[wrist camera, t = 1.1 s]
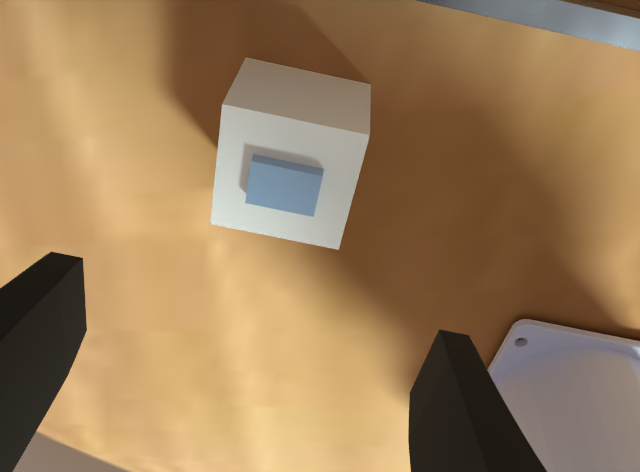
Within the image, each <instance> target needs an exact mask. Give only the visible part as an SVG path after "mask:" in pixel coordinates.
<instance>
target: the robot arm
mask: <svg viewBox="0 0 640 472" xmlns="http://www.w3.org/2000/svg"><path fill="white" fill-rule="evenodd" d="M86 331H87V327H86V308H85V290H84V272H83V258H80V257H75V256H70V255H65V254H60V253H55V252H50V253H49V254H47V255H46V256H44V257H43V258H41V259H40V260H39V261H37V262H36V263H34V264H33V265H32V266H30V267H29V268H28V269H26V270H25V271H24V272H22V273H21V274H19V275H18V276H17V277H15V278H14V279H13V280H11V281H10V282H8V283H7V284H6V285H4V286H3V287H2V288H0V472H12V471H13V470H14V468H15V466H16V465H17V463H18V461H19V459H20V458H21V456H22V454H23V453H24V451H25V449H26V447H27V446H28V444H29V442H30V441H31V439H32V437H33V435H34V433H35V432H36V430H37V428H38V427H39V425H40V423H41V422H42V420H43V418H44V416H45V415H46V413H47V411H48V409H49V408H50V406H51V404H52V402H53V401H54V399H55V397H56V395H57V394H58V392H59V390H60V388H61V387H62V385H63V383H64V381H65V379H66V378H67V376H68V374H69V371H70V369H71V367H72V364H73V362H74V360H75V358H76V355H77V353H78V350H79V348H80V345H81V343H82V340H83V338H84V336H85V333H86ZM519 338H523V339H521V340H516V339H519ZM409 453H410V464H411V472H640V341H636V340H631V339H626V338H621V337H616V336H611V335H606V334H601V333H596V332H591V331H586V330H581V329H576V328H571V327H566V326H561V325H556V324H551V323H546V322H541V321H536V320H531V319H522V320H519V321H517V322H515V323H514V324H513V325H512V327H511V329H510V331H509V332H508V334H507V336H506V338H505V339H504V341H503V343H502V345H501V347H500V348H499V350H498V352H497V354H496V356H495V357H494V359H493V361H492V363H491V364H490V366H489V368H488V370H487V369H486V367H485V365H484V363H483V361H482V359H481V357H480V355H479V353H478V352H477V350H476V348H475V346H474V344H473V342H472V340H471V339H470V337H469V335H464V334H459V333H454V332H449V331H444V330H439V332H438V334H437V336H436V338H435V340H434V342H433V344H432V347H431V349H430V351H429V353H428V355H427V357H426V359H425V362H424V364H423V366H422V368H421V370H420V372H419V374H418V377H417V379H416V381H415V383H414V385H413V387H412V389H411V392H410V405H409Z"/></svg>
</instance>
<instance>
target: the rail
mask: <svg viewBox="0 0 640 472" xmlns="http://www.w3.org/2000/svg"><path fill="white" fill-rule="evenodd" d="M417 1H421V2H426V3H430V4H435V5H439V6H443V7H448V8H452V9H457V10H461V11H465V12H470V13H474V14H478V15H483V16H487V17H492V18H496V19H500V20H505V21H509V22H514V23H518V24H522V25H527V26H531V27H535V28H540V29H544V30H549V31H553V32H557V33H562V34H566V35H571V36H575V37H579V38H584V39H588V40H592V41H597V42H601V43H606V44H610V45H614V46H619V47H623V48H628V49H632V50H636V51H640V11H636V10H632V9H628V8H623V7H619V6H615V5H610V4H606V3H602V2H597V1H593V0H417Z"/></svg>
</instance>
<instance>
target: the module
mask: <svg viewBox="0 0 640 472" xmlns="http://www.w3.org/2000/svg"><path fill="white" fill-rule="evenodd" d="M370 109H371V84H367V83H363V82H358V81H353V80H349V79H344V78H340V77H335V76H330V75H326V74H321V73H316V72H312V71H307V70H303V69H298V68H293V67H289V66H284V65H280V64H275V63H270V62H266V61H261V60H256V59H252V58H247V57H246V58H245V60H244V62H243V64H242V66H241V68H240V70H239V72H238V74H237V76H236V78H235V80H234V82H233V84H232V86H231V88H230V90H229V92H228V93H227V95H226V97H225V99H224V101H223V103H222V111H221V121H220V131H219V141H218V151H217V161H216V171H215V181H214V191H213V201H212V211H211V221H210V224H213V225H218V226H223V227H228V228H233V229H238V230H243V231H248V232H253V233H258V234H263V235H268V236H273V237H278V238H282V239H287V240H292V241H297V242H302V243H307V244H312V245H317V246H322V247H327V248H332V249H337V250H339V247H340V243H341V239H342V236H343V232H344V228H345V225H346V221H347V217H348V214H349V210H350V206H351V203H352V199H353V196H354V192H355V188H356V185H357V181H358V177H359V174H360V170H361V166H362V163H363V159H364V155H365V152H366V148H367V144H368V141H369V137H370Z"/></svg>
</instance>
